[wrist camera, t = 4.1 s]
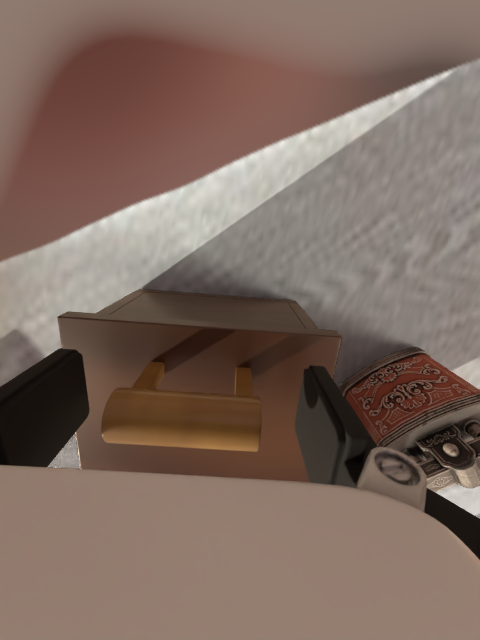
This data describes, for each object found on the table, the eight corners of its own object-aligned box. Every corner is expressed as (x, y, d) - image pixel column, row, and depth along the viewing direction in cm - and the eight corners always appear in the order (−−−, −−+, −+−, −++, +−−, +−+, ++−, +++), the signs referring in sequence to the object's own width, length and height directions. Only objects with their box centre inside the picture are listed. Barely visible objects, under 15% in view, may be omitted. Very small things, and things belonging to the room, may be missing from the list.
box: (138, 288, 21) (70, 326, 12) (295, 300, 21) (332, 345, 13) (146, 452, 26) (102, 556, 18) (272, 459, 26) (287, 565, 18)
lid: (67, 311, 12) (-44, 361, 7) (336, 330, 12) (396, 391, 8) (102, 557, 18) (51, 676, 13) (287, 566, 18) (304, 686, 13)
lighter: (349, 410, 24) (418, 522, 15) (333, 383, 23) (396, 485, 14) (432, 368, 23) (566, 463, 14) (418, 338, 22) (552, 418, 13)
